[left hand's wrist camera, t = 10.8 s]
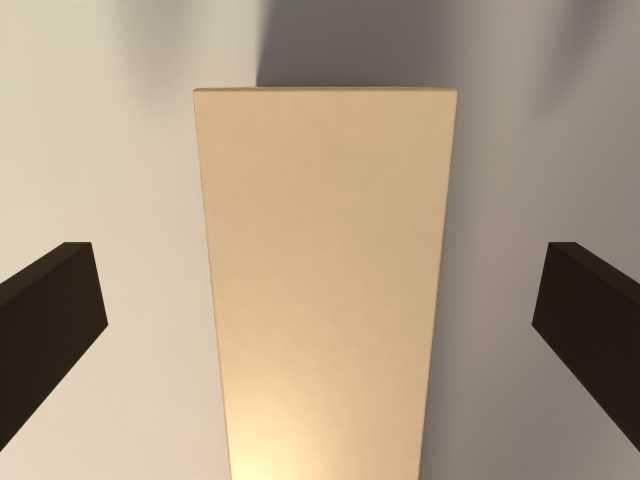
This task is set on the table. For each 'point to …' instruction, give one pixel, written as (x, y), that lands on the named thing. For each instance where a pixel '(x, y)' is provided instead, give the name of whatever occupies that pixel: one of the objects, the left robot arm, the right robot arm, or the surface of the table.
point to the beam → (324, 272)
